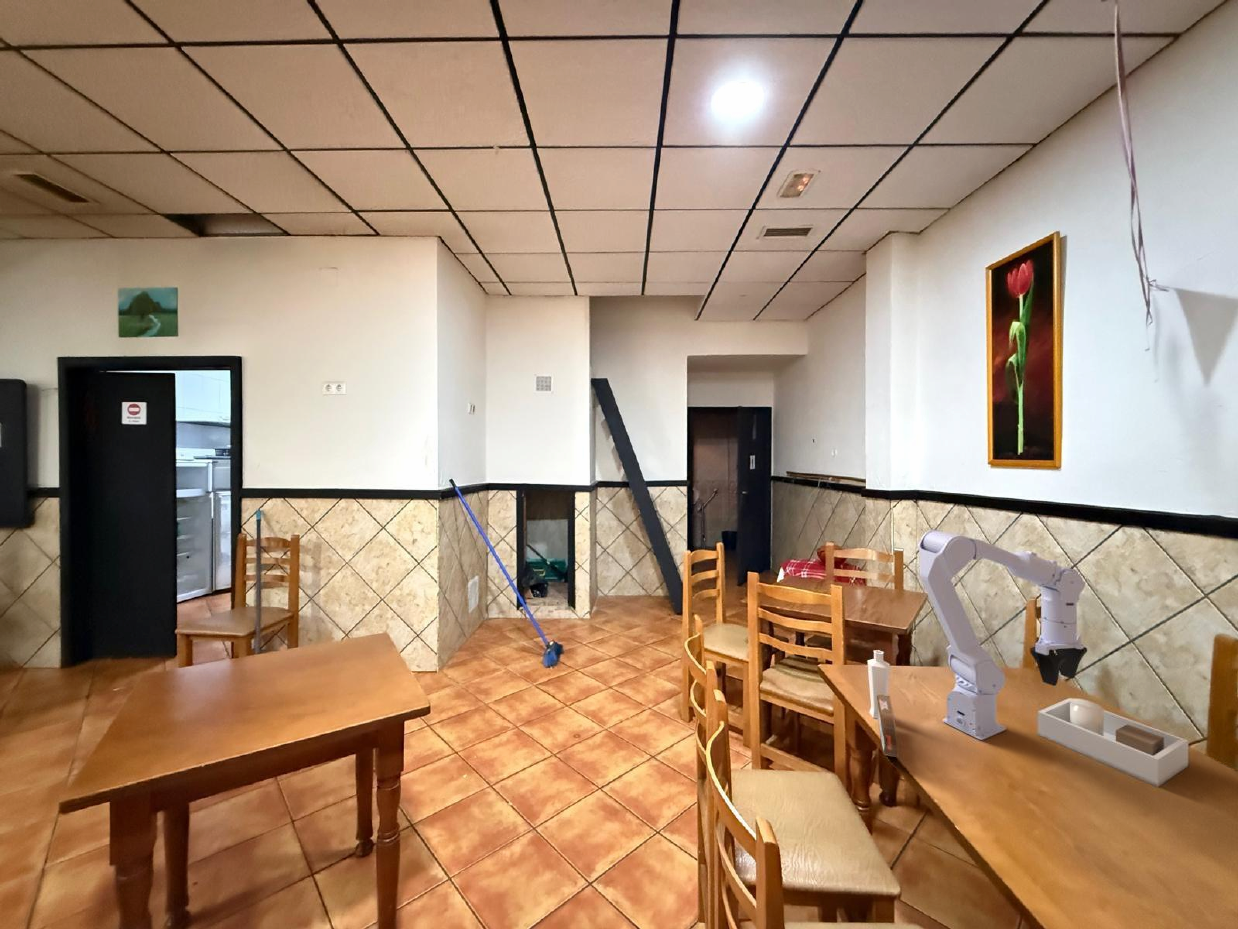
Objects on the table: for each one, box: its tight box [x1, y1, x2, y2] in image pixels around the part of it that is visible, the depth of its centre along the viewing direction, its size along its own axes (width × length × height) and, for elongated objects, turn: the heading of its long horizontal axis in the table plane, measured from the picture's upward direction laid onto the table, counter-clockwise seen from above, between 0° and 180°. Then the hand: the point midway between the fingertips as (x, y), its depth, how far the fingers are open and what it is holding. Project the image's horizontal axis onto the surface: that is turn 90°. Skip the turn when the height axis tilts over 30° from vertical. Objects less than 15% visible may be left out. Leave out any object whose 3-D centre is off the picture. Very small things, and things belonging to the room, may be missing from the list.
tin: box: [877, 695, 899, 759], centre depth 97 cm, size 15×3×8 cm, turn 155°
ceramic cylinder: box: [1070, 698, 1105, 736], centre depth 98 cm, size 5×5×7 cm
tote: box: [1037, 697, 1189, 788], centre depth 95 cm, size 14×18×5 cm
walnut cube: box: [1116, 724, 1164, 756], centre depth 91 cm, size 5×5×5 cm
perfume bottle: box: [867, 649, 891, 720], centre depth 108 cm, size 5×4×15 cm
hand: (1058, 680), depth 103 cm, fingers open, 7 cm apart
